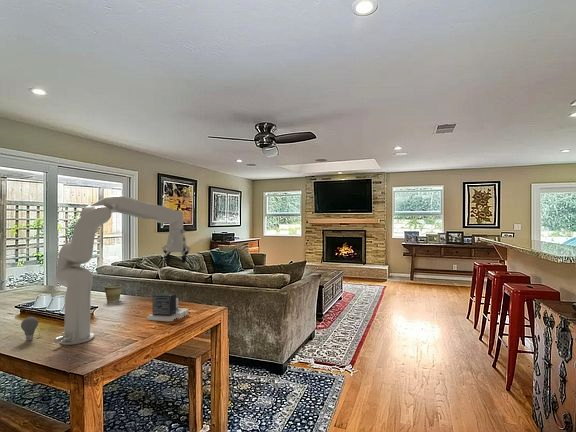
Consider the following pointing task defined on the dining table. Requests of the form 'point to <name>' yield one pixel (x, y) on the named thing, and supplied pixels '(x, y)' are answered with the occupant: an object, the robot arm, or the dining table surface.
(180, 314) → the scale
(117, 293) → the olive flower pot
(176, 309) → the round metal knob
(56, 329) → the dining table surface
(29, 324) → the light bulb
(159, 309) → the small box
